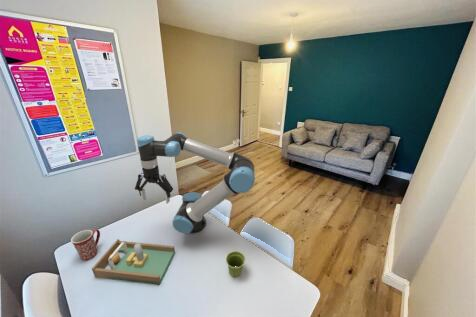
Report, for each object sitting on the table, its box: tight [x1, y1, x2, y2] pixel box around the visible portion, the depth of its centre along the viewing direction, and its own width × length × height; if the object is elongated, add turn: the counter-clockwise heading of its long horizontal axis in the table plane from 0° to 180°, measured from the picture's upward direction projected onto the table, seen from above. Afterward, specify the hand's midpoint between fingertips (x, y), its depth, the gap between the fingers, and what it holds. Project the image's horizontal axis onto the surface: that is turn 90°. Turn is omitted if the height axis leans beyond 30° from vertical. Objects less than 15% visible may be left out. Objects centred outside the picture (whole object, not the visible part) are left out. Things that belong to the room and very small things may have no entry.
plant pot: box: [225, 250, 246, 278], centre depth 96 cm, size 9×9×9 cm
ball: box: [109, 252, 121, 265], centre depth 100 cm, size 5×5×5 cm
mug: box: [70, 228, 101, 261], centre depth 104 cm, size 13×9×14 cm
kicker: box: [126, 242, 148, 267], centre depth 97 cm, size 8×6×11 cm
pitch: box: [91, 239, 176, 286], centre depth 98 cm, size 32×18×9 cm, turn 84°
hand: (156, 201), depth 106 cm, fingers open, 13 cm apart
